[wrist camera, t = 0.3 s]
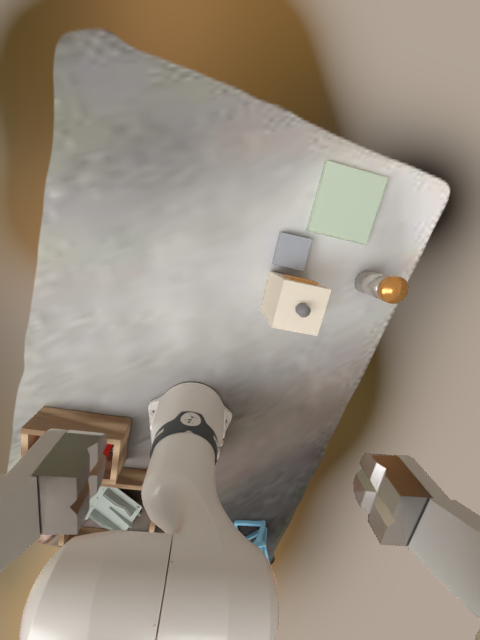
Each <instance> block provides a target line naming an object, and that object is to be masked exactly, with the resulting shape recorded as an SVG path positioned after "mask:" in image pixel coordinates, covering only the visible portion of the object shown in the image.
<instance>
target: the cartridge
mask: <svg viewBox="0 0 480 640" xmlns="http://www.w3.org/2000/svg"><path fill="white" fill-rule="evenodd" d="M355 288H356V289H357V290H358V291H360V292H362V293H365V294H368V295H370V296H373V297H376V298H379V299H381V300H383V301H385V302H388V303H391V304H394V303H398V302H400V301H402V300H403V299H404V298H405V297H406V295H407V293H408V284H407V282H406V280H405V279H403V278H401V277H396V276H388V275H384V274H379V273H374V272H369V271H364V272H361V273H360V274H358V276H357V277H356V279H355Z"/></svg>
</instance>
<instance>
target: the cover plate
mask: <svg viewBox="0 0 480 640" xmlns="http://www.w3.org/2000/svg"><path fill="white" fill-rule="evenodd" d="M311 244H312V239H308V238H304V237H300V236H296V235H291V234H287V233H283V232H280V233H279V237H278V241H277V245H276V249H275V253H274V257H273V261H272V264H274V265H278V266H282V267H287V268H291V269H296V270H301V271H304V269H305V265H306V261H307V258H308V254H309V251H310V247H311Z"/></svg>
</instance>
